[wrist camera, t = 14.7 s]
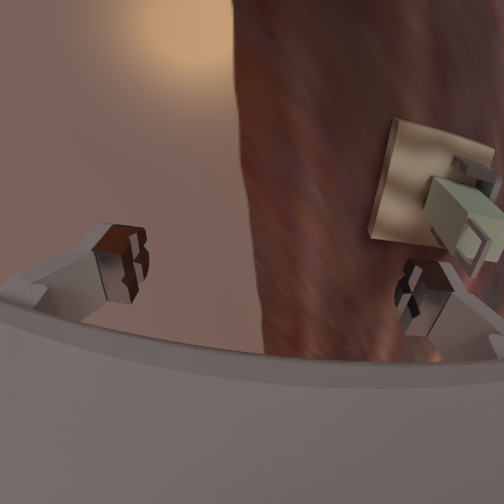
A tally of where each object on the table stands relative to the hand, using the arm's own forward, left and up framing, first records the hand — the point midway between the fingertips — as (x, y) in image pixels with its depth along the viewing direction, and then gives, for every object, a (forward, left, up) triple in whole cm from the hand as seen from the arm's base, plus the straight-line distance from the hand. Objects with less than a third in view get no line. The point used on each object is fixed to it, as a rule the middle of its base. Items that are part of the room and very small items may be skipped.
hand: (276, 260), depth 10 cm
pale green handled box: (+7, +22, -29) cm, 37 cm away
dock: (+7, +21, -31) cm, 38 cm away
